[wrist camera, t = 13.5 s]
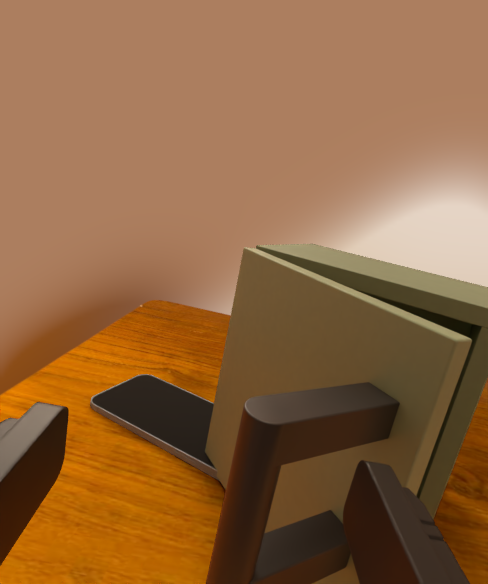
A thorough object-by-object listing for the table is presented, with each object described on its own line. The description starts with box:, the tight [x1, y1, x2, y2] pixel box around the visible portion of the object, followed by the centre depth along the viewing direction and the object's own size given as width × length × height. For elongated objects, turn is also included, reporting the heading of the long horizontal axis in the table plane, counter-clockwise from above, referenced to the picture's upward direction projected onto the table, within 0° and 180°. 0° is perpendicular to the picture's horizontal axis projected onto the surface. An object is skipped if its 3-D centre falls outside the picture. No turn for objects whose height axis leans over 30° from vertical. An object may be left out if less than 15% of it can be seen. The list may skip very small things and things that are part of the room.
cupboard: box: [256, 244, 488, 519], centre depth 28 cm, size 10×14×16 cm
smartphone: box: [90, 374, 220, 481], centre depth 32 cm, size 7×1×15 cm
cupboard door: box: [205, 248, 472, 584], centre depth 19 cm, size 7×14×16 cm, turn 30°
